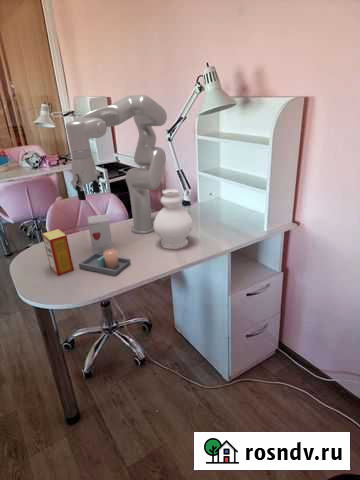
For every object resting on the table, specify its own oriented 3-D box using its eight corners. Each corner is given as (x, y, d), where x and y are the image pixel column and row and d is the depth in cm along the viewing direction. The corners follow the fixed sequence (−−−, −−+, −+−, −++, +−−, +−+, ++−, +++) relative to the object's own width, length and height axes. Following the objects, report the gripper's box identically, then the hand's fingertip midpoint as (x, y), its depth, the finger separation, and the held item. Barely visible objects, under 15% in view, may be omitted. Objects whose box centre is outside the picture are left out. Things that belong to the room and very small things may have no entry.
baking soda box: (50, 267, 140) (41, 232, 134) (65, 262, 144) (57, 228, 137) (58, 276, 133) (49, 239, 127) (74, 270, 137) (66, 234, 130)
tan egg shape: (111, 262, 140) (108, 247, 137) (122, 265, 138) (119, 249, 135) (103, 268, 135) (100, 253, 133) (114, 271, 133) (111, 255, 130)
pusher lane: (96, 257, 146) (95, 252, 145) (130, 264, 139) (129, 259, 138) (79, 268, 138) (78, 263, 137) (115, 276, 130) (114, 271, 129)
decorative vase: (189, 252, 146) (187, 197, 136) (150, 250, 149) (145, 196, 139) (196, 236, 162) (194, 185, 151) (160, 234, 165) (156, 185, 155)
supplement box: (93, 254, 150) (87, 223, 144) (92, 246, 158) (87, 216, 152) (113, 250, 152) (108, 219, 146) (111, 243, 160) (107, 213, 154)
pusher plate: (111, 260, 141) (109, 251, 139) (113, 260, 141) (111, 251, 139) (98, 269, 135) (97, 259, 133) (100, 270, 134) (99, 260, 132)
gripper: (87, 149, 140) (95, 189, 147) (59, 159, 125) (68, 202, 133) (102, 149, 137) (109, 190, 144) (75, 159, 123) (84, 203, 130)
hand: (89, 196), depth 138 cm, fingers open, 9 cm apart
